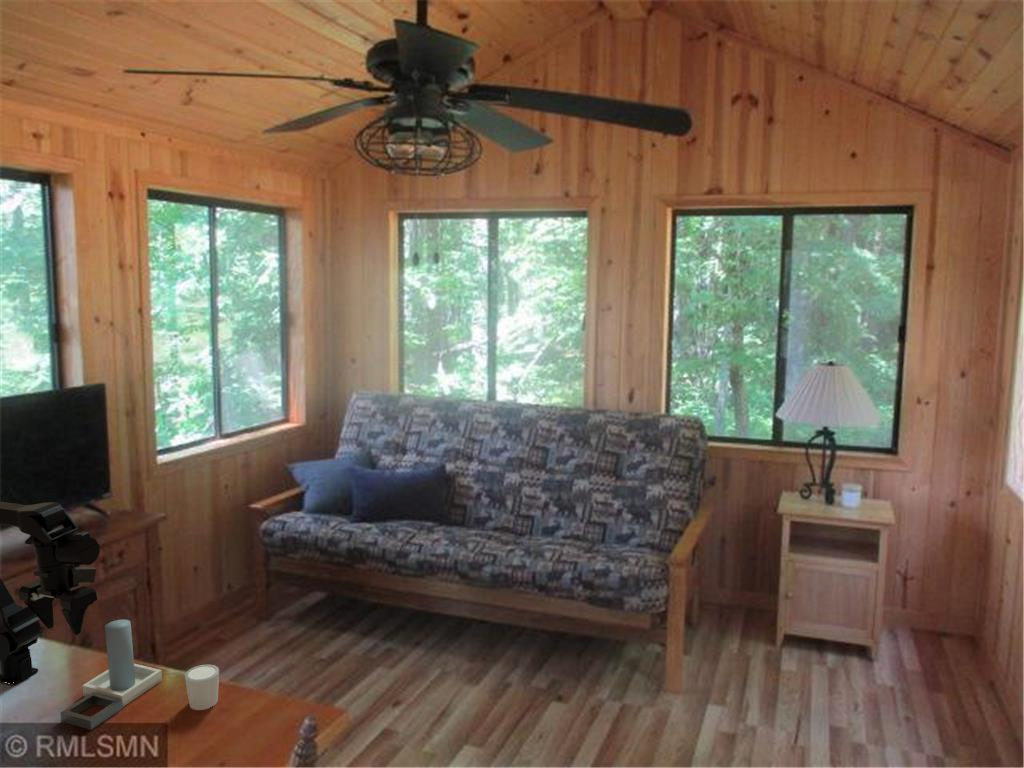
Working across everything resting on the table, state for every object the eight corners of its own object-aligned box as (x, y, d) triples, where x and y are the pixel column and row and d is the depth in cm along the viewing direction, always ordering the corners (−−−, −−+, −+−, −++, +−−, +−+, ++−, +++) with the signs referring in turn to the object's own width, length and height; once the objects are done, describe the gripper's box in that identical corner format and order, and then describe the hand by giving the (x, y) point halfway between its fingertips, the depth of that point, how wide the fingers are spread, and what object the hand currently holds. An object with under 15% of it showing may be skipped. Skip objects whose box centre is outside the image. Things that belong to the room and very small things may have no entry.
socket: (61, 721, 162) (60, 712, 162) (93, 700, 170) (93, 692, 169) (91, 730, 160) (90, 721, 159) (122, 708, 167) (122, 699, 167)
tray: (83, 695, 171) (82, 685, 171) (123, 670, 182) (123, 660, 181) (123, 706, 168) (122, 695, 167) (162, 680, 178) (161, 670, 177)
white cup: (226, 694, 173) (224, 665, 172) (211, 713, 166) (209, 682, 165) (196, 692, 174) (194, 662, 172) (180, 710, 167) (178, 679, 166)
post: (105, 690, 172) (100, 630, 170) (116, 678, 177) (111, 619, 175) (129, 690, 172) (124, 630, 170) (139, 678, 177) (134, 619, 175)
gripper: (114, 553, 173) (125, 621, 176) (60, 545, 182) (71, 609, 184) (66, 573, 163) (78, 644, 166) (11, 563, 172) (23, 631, 174)
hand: (64, 631), depth 173 cm, fingers open, 9 cm apart
